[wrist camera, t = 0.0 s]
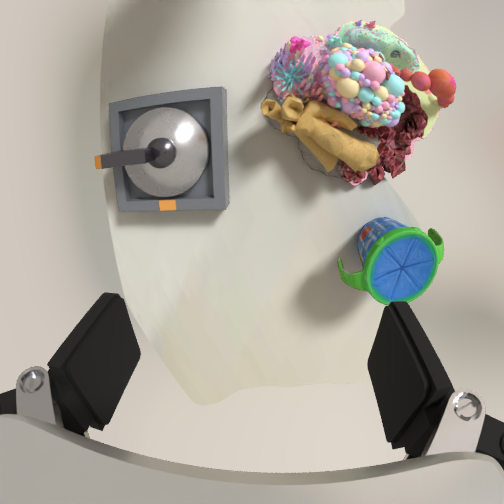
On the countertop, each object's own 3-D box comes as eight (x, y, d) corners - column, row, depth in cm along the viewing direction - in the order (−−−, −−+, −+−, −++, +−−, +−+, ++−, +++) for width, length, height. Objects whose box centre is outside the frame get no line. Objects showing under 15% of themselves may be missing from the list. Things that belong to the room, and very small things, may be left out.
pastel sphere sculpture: (374, 211, 39) (397, 235, 31) (234, 122, 35) (222, 121, 27) (452, 87, 29) (488, 84, 21) (325, -9, 25) (337, -38, 17)
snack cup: (421, 198, 37) (456, 221, 28) (422, 259, 41) (450, 292, 32) (326, 215, 40) (341, 243, 30) (334, 278, 44) (347, 318, 35)
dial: (208, 103, 32) (199, 100, 28) (212, 192, 37) (203, 202, 33) (110, 117, 33) (91, 118, 29) (117, 196, 38) (101, 206, 34)
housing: (119, 104, 34) (108, 103, 31) (226, 89, 33) (221, 86, 30) (128, 205, 41) (118, 212, 38) (229, 203, 40) (225, 210, 37)
